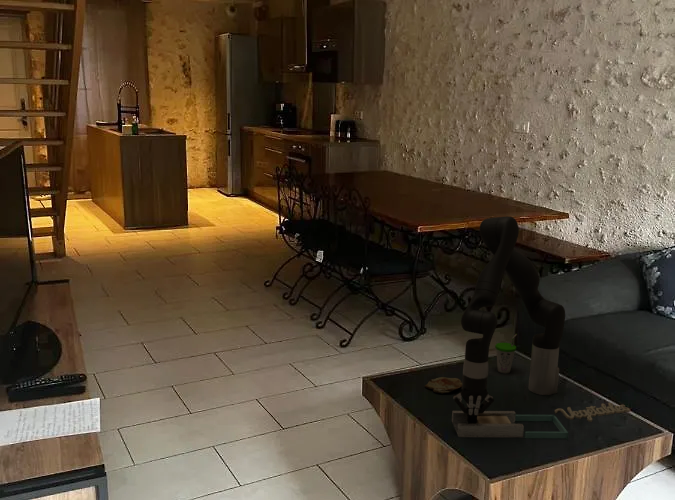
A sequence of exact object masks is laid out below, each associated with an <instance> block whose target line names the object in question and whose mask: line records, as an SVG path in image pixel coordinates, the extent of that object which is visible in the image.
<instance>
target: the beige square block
mask: <svg viewBox="0 0 675 500" xmlns="http://www.w3.org/2000/svg"><path fill="white" fill-rule="evenodd" d="M476 424H495V422H494V420H493V418H492V417H491V416H477V423H476Z"/></svg>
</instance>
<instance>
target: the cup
mask: <svg viewBox="0 0 675 500" xmlns="http://www.w3.org/2000/svg"><path fill="white" fill-rule="evenodd" d="M516 336H518V334H517V333H515V334H514V335H513V336H512V338H511V343H509V342H498V343H496V344H495V345H494V346H495V348H494V349H496V350H495V351H496V365H497V371H498V372H499V373H500V374H510V372H511V370H512V369H511V368H512V365H513V361H514V355H515V352H516V350H517V346H516V345H515V344H514V339H515V337H516Z"/></svg>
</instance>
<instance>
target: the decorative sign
mask: <svg viewBox="0 0 675 500" xmlns="http://www.w3.org/2000/svg"><path fill="white" fill-rule="evenodd" d="M607 404H608V405H607V406H606V404H605V403H601V406H600V407H597V406H596V405H594V406H593V405H590V406H588V407H587V406H586V407H585V409H582V410H581V409H579V410H578V411H577V410H572V408H571V406H568V407H567V408H566V411H565V410H564V409H563V408H556V409H554V414H557V413H559V412H561V413H562V416H564V417H565V418H566V419H567V420H575V418H576V419H579V420H581V419H582V418H584V419H586V421H587V422H590V423H592V422H593V418H594V417H601V416H605V415H606V416H607V415H614V414H615V413H616V414H621V413H622V414H624V413H630V411H631V408H629V407H626V405H625V404H620V405H614V404H613V403H612V402H608V403H607ZM567 412H568V413H567Z"/></svg>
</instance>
